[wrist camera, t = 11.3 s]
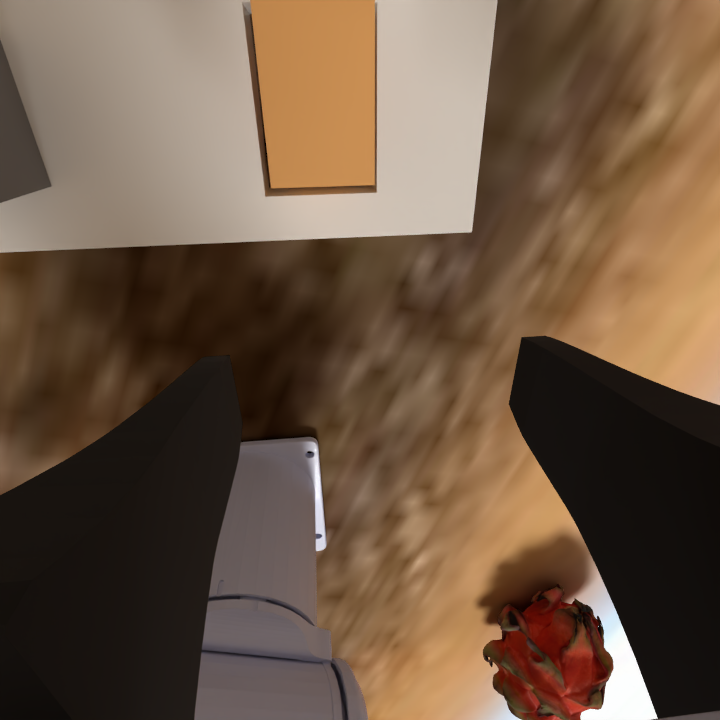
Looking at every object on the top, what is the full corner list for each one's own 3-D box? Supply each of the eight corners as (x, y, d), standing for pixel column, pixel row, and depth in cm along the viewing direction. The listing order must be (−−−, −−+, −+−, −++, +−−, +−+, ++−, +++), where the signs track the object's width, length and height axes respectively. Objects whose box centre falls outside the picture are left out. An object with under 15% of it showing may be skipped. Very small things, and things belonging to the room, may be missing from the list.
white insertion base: (457, 220, 20) (510, 262, 14) (-70, 242, 18) (-224, 298, 13) (482, -49, 15) (572, -128, 10) (-222, -54, 13) (-557, -152, 8)
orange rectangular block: (356, 161, 18) (374, 185, 13) (282, 163, 18) (270, 188, 13) (353, 24, 16) (374, -14, 11) (269, 25, 16) (248, -14, 10)
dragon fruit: (482, 632, 41) (528, 531, 37) (578, 691, 37) (640, 587, 33) (457, 715, 33) (512, 600, 29) (574, 797, 30) (654, 680, 26)
